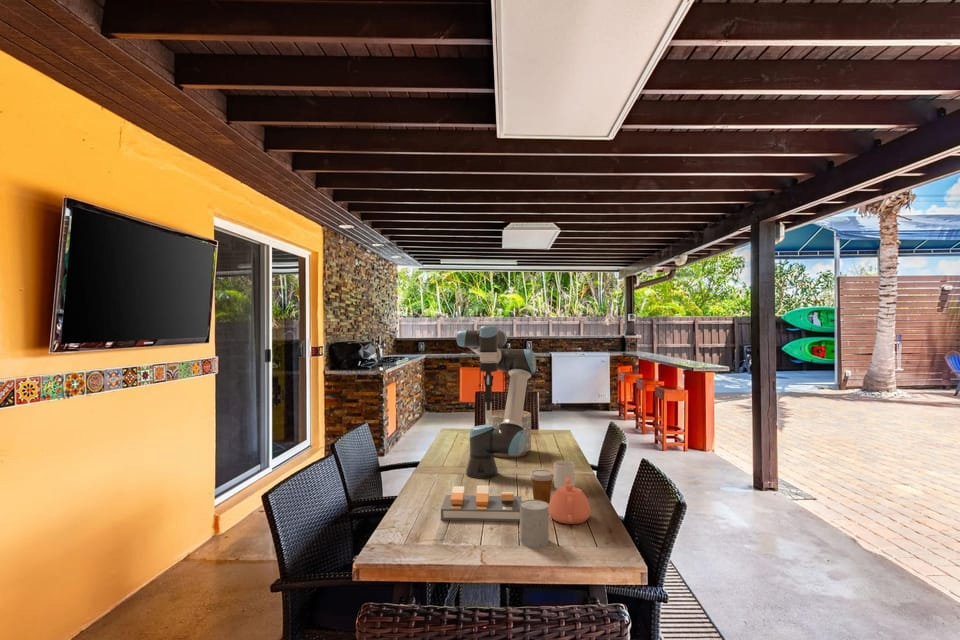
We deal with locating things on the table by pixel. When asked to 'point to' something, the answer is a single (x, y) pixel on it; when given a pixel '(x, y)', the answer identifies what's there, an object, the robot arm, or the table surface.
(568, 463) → the mug
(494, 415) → the planter
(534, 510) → the grey cylinder
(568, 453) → the table surface
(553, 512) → the teapot
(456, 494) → the block
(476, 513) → the console
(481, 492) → the rocker
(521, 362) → the robot arm
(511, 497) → the rocker
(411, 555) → the table surface
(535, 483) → the disposable coffee cup
